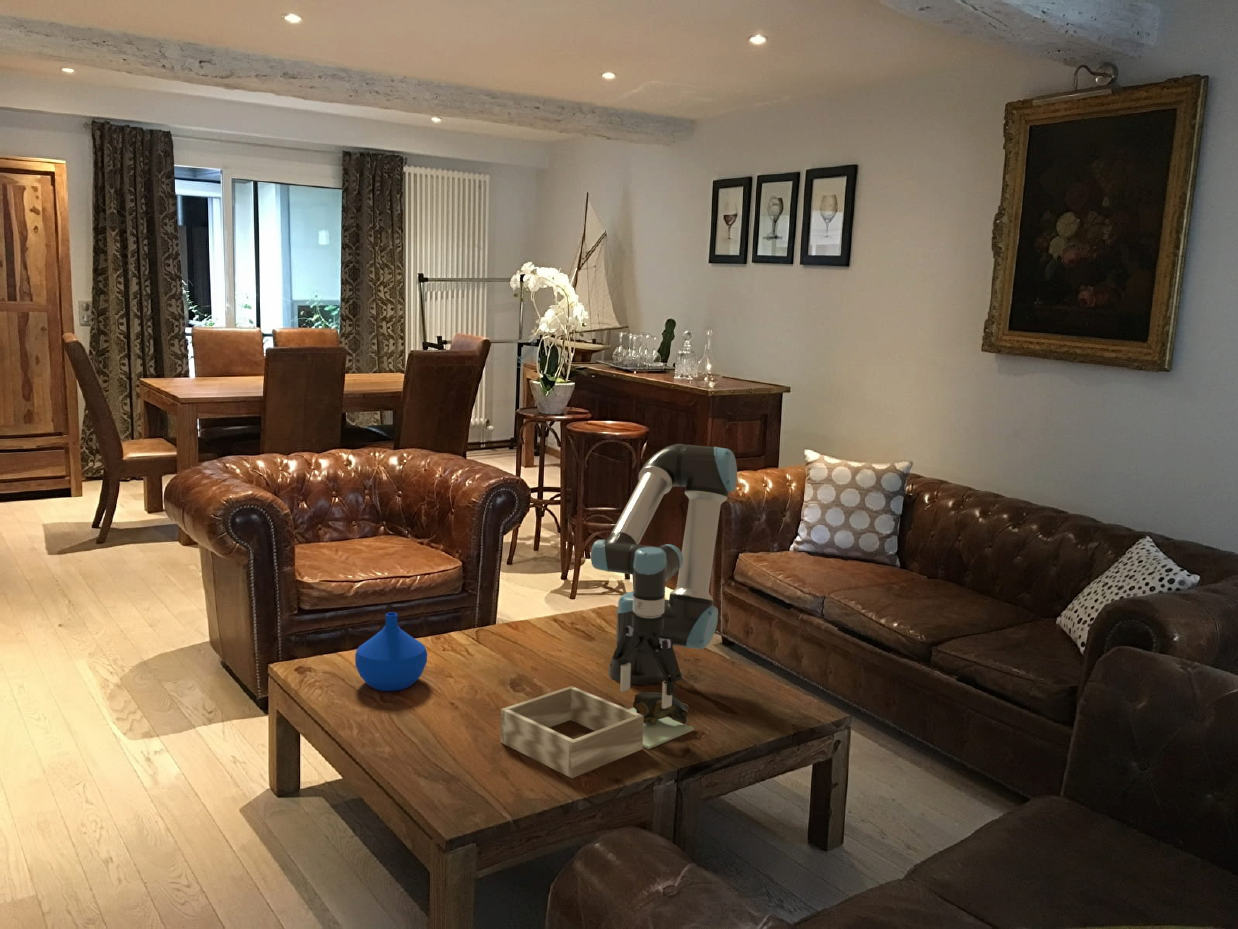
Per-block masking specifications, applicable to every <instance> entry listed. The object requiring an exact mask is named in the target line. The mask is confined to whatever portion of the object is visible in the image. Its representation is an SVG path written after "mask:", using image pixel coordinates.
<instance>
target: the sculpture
mask: <svg viewBox="0 0 1238 929" xmlns="http://www.w3.org/2000/svg"><path fill="white" fill-rule="evenodd" d="M632 708H635V709H636V710H637V711H636V713H638V714H641V715H643V716H644V723H645V722H649V723H650V724H656V723H657V721H658V719H662V718H665V717H669V718H671V719H673V720H675V721H677V722H680V723H682V724H686V725H687V722H688V718H687V717H688V716H689V712H688V711H689V705H688V704H687V703H684V702H682V701H681V700H679V699H678V698H677V697H675V696H673V695H672V706H670V707H668V708H665V709H663V708H662V692H656V691H647V692H640V693H637V694H635V695H634V701H633V703H632Z"/></svg>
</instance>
